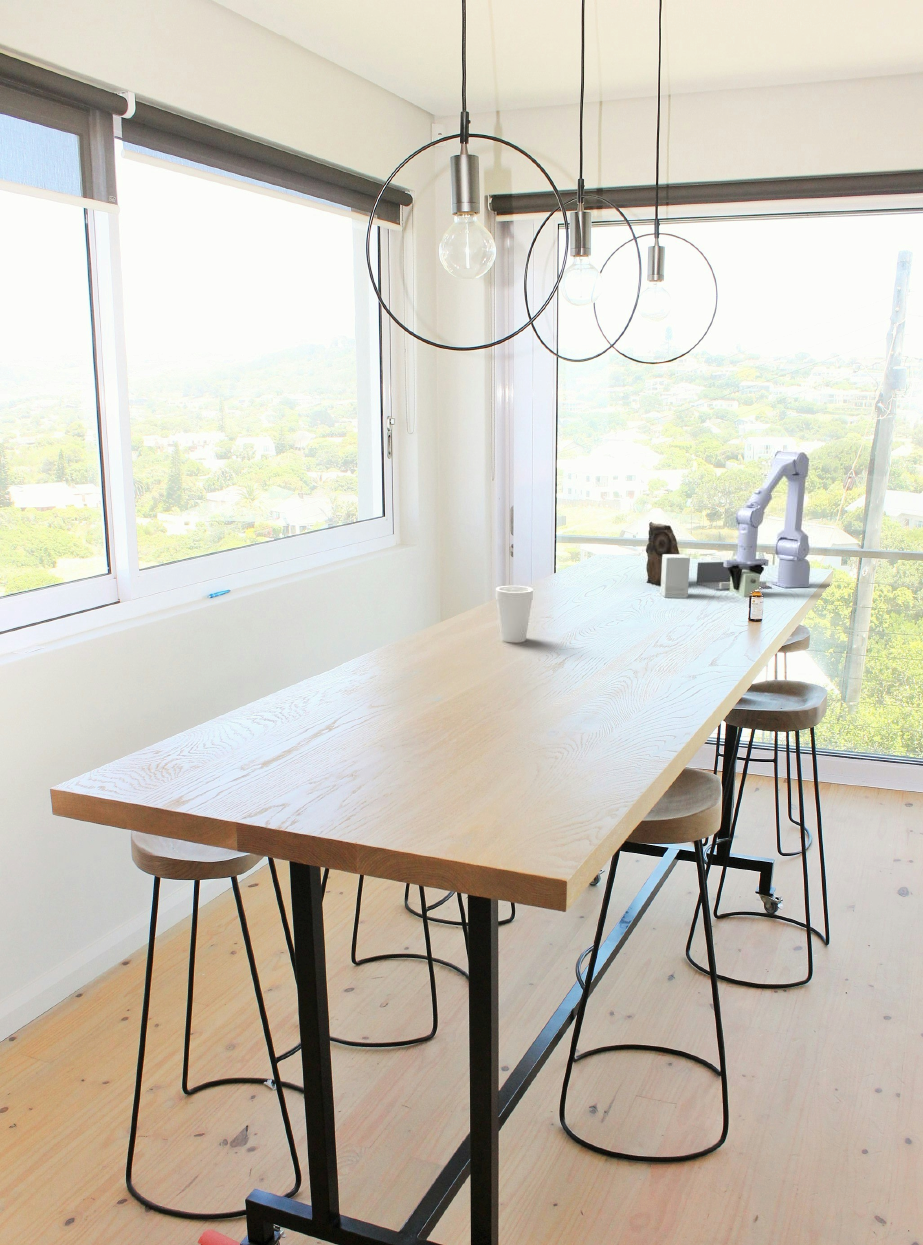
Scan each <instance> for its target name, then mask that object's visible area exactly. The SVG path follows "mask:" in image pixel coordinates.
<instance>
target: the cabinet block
mask: <svg viewBox="0 0 923 1245" xmlns="http://www.w3.org/2000/svg"><path fill="white" fill-rule="evenodd" d="M760 579H761V575H760V574H757V573H754V572H751V571H748V570H742V573H741V577H740V585H739V590H735V589H734V587H733V582H732V578H730V590H729V592H730V593H731V592H734V593H736V594H735V595H737V594H738V596H739V595H740V597H743V598H750V597H749V596H750V594H751V592H753V591H755V590H757V589H759V583H760V581H761V580H760ZM759 590H760V589H759ZM734 593H733V594H734Z"/></svg>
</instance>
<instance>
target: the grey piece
mask: <svg viewBox="0 0 923 1245" xmlns="http://www.w3.org/2000/svg"><path fill="white" fill-rule="evenodd" d="M723 564H724V561H705V562H703V561H702V562H701V561H700V562H697V569H696V584H697V583H699V584H701V585H700V586H702V585H703V586H702V587H705V586H706V587H705V588H707V587H708V589H710V588H711V589H710V590H713V589H714V590H713V591H715V590H720V591H730V578H731V575H730V573H729V570H728V567H724V566H723ZM739 567H740V569H742V570H748V571H750V570H749V566H739ZM699 584H698V585H699ZM759 587H761V588H763V589H772V586H770V585H768V584H767V581H766V580H760V583H759ZM763 589H762V590H763Z"/></svg>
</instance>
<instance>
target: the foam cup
mask: <svg viewBox="0 0 923 1245" xmlns="http://www.w3.org/2000/svg"><path fill="white" fill-rule="evenodd" d="M533 599H534V588H532V587H530V586H525V585H502V586H498V587H495V600H496V606H497V615H498V624H499V632H500V633H499V634H500V640H501V641H502V642H504V643H505V642H506V643H523V642H525V641H527V640H526V638H527V633H528V627H529V622H530V621H529V620H530V615H531V609H532V601H533Z"/></svg>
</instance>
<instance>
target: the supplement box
mask: <svg viewBox="0 0 923 1245" xmlns="http://www.w3.org/2000/svg"><path fill="white" fill-rule="evenodd" d="M690 559H691V558H690V556H688V555H686V554H684V553H683V554H682V553H681V554H680V553H679V554H663V555H662V573H661V586H660V590H659V591H660V594H661V596H662V597H664V598H665V599H666V598H667V599H669V598H671V599H672V598H673V599H687V598H688V597H689V578H690V563H691V562H690V561H691V560H690Z"/></svg>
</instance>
